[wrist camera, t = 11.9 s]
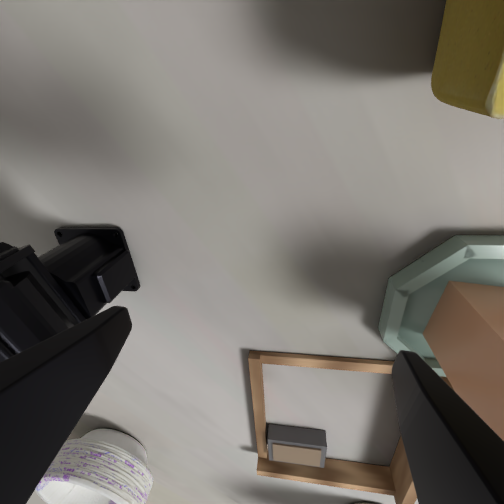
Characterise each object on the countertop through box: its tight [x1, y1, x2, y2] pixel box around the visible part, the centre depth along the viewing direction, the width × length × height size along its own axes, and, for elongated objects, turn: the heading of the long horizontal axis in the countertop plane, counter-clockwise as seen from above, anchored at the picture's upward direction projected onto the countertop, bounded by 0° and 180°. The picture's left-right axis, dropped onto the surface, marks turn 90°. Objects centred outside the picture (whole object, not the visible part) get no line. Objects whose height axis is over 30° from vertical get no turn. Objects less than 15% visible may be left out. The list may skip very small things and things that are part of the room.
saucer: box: [378, 235, 504, 377], centre depth 21 cm, size 13×13×2 cm
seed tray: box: [268, 424, 327, 468], centre depth 33 cm, size 7×5×2 cm
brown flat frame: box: [248, 351, 454, 504], centre depth 29 cm, size 18×21×4 cm
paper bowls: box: [35, 429, 153, 504], centre depth 39 cm, size 15×15×8 cm
